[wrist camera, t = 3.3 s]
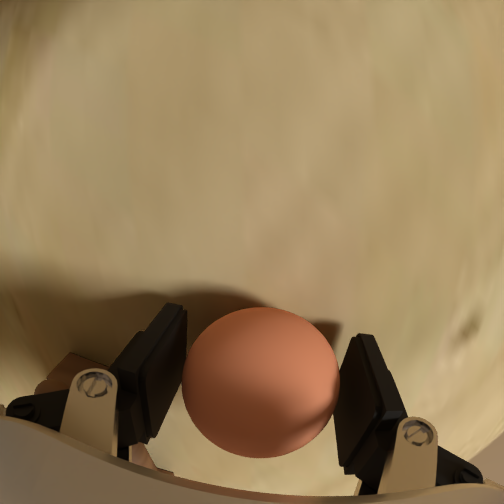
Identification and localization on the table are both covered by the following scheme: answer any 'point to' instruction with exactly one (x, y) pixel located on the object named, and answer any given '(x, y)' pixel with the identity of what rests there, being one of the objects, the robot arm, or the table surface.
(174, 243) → the table surface
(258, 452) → the ball
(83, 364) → the brown piece
